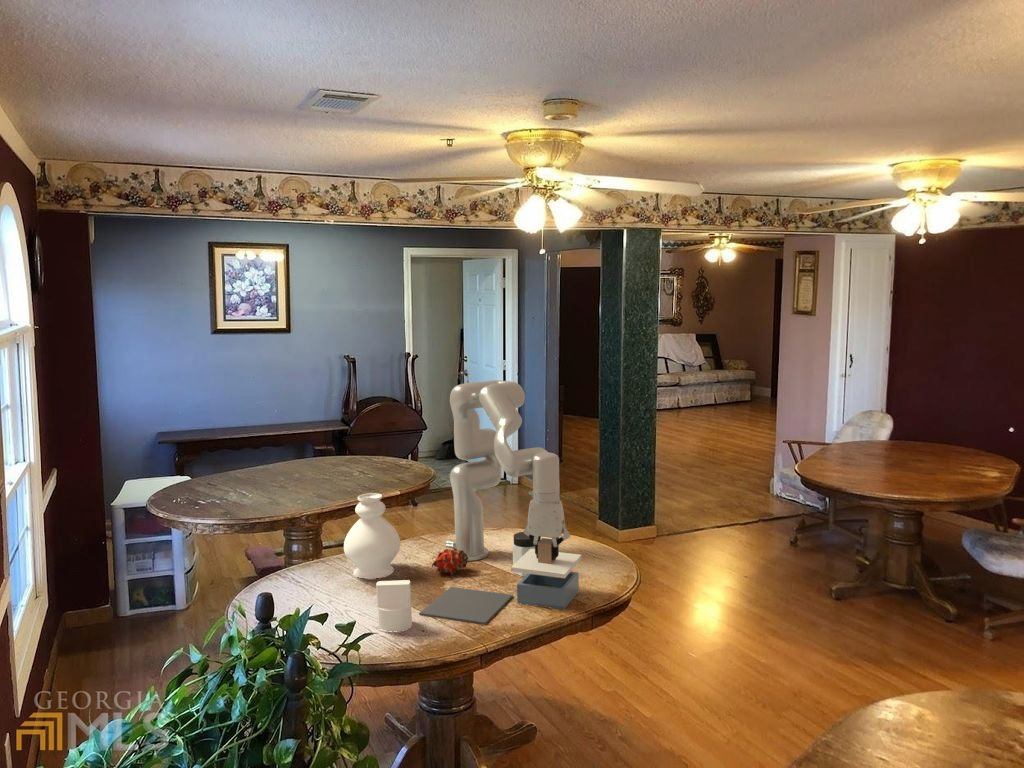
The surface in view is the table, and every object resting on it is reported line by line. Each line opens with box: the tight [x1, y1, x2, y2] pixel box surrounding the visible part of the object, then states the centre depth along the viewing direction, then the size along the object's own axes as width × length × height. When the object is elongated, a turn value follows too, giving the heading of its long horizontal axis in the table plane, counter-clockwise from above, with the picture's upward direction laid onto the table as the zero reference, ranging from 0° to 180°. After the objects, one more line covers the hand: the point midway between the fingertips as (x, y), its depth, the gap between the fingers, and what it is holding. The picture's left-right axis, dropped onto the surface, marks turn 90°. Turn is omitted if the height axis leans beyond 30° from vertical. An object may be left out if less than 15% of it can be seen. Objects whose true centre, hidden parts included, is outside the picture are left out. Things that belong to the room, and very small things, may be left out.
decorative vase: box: [343, 492, 401, 580], centre depth 251 cm, size 18×18×25 cm
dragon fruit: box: [431, 547, 468, 576], centre depth 250 cm, size 8×8×12 cm
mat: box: [418, 586, 514, 626], centre depth 224 cm, size 20×20×1 cm
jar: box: [512, 531, 535, 578], centre depth 248 cm, size 9×8×12 cm
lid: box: [510, 537, 582, 578], centre depth 227 cm, size 16×16×7 cm
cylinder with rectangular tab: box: [375, 579, 413, 633], centre depth 211 cm, size 9×9×12 cm
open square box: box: [516, 571, 580, 610], centre depth 228 cm, size 14×14×6 cm
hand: (546, 557), depth 227 cm, fingers closed on lid, 4 cm apart
